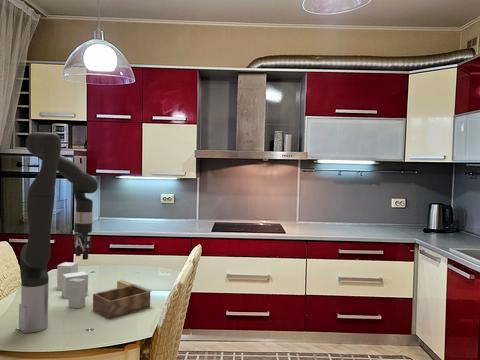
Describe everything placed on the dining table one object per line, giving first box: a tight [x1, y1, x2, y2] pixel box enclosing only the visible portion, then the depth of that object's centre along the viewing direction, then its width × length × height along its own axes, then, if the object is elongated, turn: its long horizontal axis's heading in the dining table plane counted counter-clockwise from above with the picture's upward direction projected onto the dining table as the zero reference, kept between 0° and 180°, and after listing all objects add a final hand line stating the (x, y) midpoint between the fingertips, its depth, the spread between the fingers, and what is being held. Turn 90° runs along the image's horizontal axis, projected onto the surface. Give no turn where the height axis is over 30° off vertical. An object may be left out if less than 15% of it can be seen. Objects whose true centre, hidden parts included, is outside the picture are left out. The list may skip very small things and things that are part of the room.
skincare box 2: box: [67, 278, 86, 309], centre depth 174 cm, size 6×4×12 cm
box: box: [92, 285, 151, 320], centre depth 173 cm, size 20×14×7 cm
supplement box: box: [56, 261, 79, 291], centre depth 199 cm, size 7×7×13 cm
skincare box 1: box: [61, 271, 89, 300], centre depth 188 cm, size 10×6×10 cm, turn 129°
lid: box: [97, 279, 152, 293], centre depth 195 cm, size 21×15×6 cm
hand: (81, 257), depth 175 cm, fingers open, 8 cm apart
